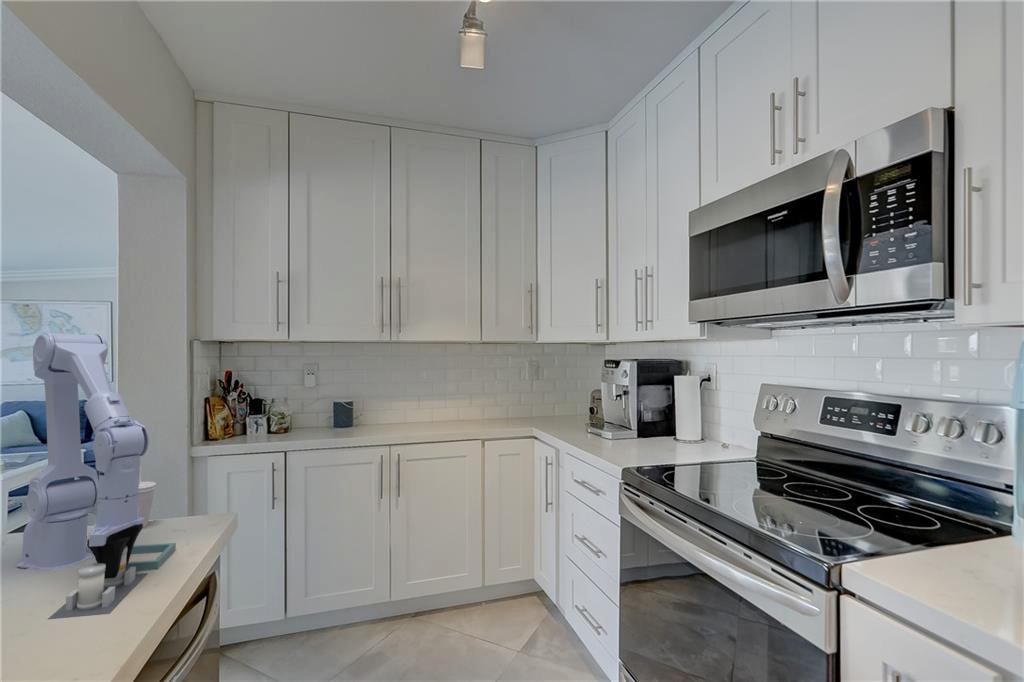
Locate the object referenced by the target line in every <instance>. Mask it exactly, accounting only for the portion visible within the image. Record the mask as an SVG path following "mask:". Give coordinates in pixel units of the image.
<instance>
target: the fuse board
mask: <svg viewBox="0 0 1024 682" xmlns="http://www.w3.org/2000/svg"><path fill="white" fill-rule="evenodd" d="M136 572H137V571H136V567H130V568H129V569H128V570H127V571H126V572H125V577H124V584H122V585H119V586H116V587H109V588H104V593H103V594H102V605H101V606H99V607H97V608H94V609H91V610H85V611H81V610H77V602H78V588H77V589H74V590H72V591H71V592H70V593H69V594H67V595H66V596H65V603H64V604H63V605H62V606H61V607H60V608H58V609H57V611H54V613H53V614H51V615H50V616H49V617H48V618H47V620H55V619H65V618H66V619H68V618H76V617H77V618H78V617H88V616H89V617H90V616H100V615H110V614H111V613H112V612H113V611H114V610H115V609H116V608H117V607H118V606H119V605H120V604H121V602H122V601H124V599H125V598H126V597H127V596H128V595H129V594H131V592H132V591H133V590H134V589H135V587H137V586H138V585H139V584H140V583H141V581H142V580H143V579H144V578H145V577H146V576H147V575H148V574H149V573H148V572H143V573H136Z"/></svg>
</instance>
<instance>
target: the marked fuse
mask: <svg viewBox="0 0 1024 682" xmlns="http://www.w3.org/2000/svg"><path fill="white" fill-rule="evenodd" d="M127 550H128V546H125V548H124V551H123V554H122V557H121V562H120V568H119V572H118V574H117V576H116V577H115V578H108V579H104V588H109V587H116V586H119V585H122V584H124V577H125V572H126V556H127Z"/></svg>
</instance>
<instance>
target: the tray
mask: <svg viewBox="0 0 1024 682" xmlns="http://www.w3.org/2000/svg"><path fill="white" fill-rule="evenodd" d="M176 545H177V543H176V542H169V543H168V542H167V543H153V544H151V543H150V544H136V545H135V544H134V546H133V549H132V552H131V555H137V554H138V555H140V554H153V553H154V554H155V553H157V554H159V553H160V554H159V555H158V556H157V557H156V558H155V559H153V560H152V559H151V560H140V561H139V560H138V561H129V562H128V565H127V567H126V571H127V570H128V569H129V568H130V567H136V572H139V571H140V572H142V571H155V570H159V569H160V567H161V566H163V564H165V562H166V561H167V560H168V559H169V558H170V557H171V555H172V554H174V552H175V551H176V550H177V549H176Z"/></svg>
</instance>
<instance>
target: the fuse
mask: <svg viewBox="0 0 1024 682" xmlns="http://www.w3.org/2000/svg"><path fill="white" fill-rule="evenodd" d="M105 568H106V565H105V564H104V563H97V562H95V563H89V564H85V565H83V566H82V567H80V568H79V569H78V571H77V572H78V573H77V577H78V585H77V586H78V588H77V589H78V602H77V610H81V611H85V610H91V609H94V608H97V607H99V606H101V605H102V594H103V593H104V573H105Z"/></svg>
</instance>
